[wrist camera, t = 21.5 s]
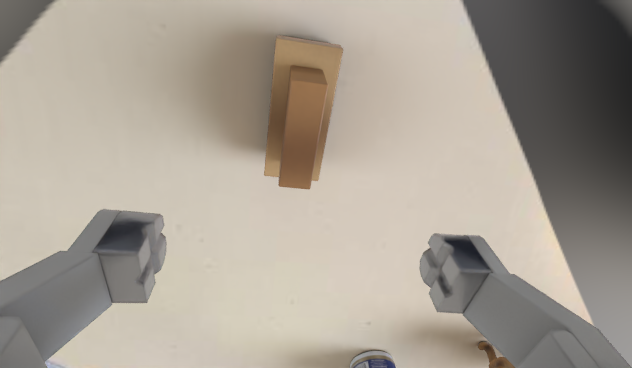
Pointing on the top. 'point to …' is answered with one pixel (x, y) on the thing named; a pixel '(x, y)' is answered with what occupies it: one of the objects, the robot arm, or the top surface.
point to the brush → (300, 109)
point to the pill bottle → (373, 360)
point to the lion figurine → (494, 357)
